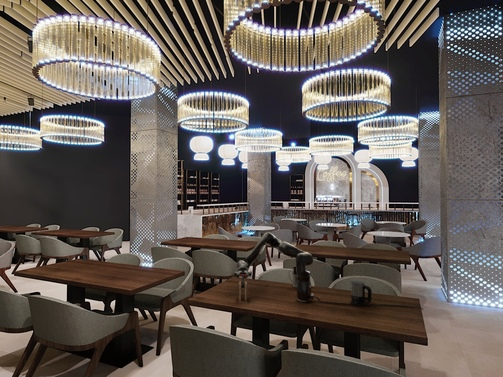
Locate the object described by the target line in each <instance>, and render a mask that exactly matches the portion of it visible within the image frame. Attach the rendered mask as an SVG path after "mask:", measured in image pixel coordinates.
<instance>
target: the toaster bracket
mask: <svg viewBox="0 0 503 377" xmlns="http://www.w3.org/2000/svg"><path fill="white" fill-rule="evenodd" d="M241 282H242V281H239V283H238V287H239V288H238V298H239V301H241V300H242V296H241V295H242V288H241ZM244 283H245V288H244V300H245V301H247V292H248V291H247V287H248V283H247V281H244Z"/></svg>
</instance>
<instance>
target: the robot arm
mask: <svg viewBox="0 0 503 377" xmlns="http://www.w3.org/2000/svg"><path fill="white" fill-rule="evenodd" d="M264 245H267V246H269V247H271V248H274V249H276V250H277V251H278V252H279V253H280V254H282V255H283V256H285V257H289V258H293V259H295V267H296V272H297V287H296V301H298V302H300V303H310V302H311V301H312V300H314V298H315V299H317V300H318V302H320V303H325V304H333V305H334V304H336V305H345V306H346V305H347V306H348V305H349V306H355V305H354V304H351V303H345V302H334V301H322V300H320V299H319V297H317V296H315V295H314V293H312V286H311V272H310V271H308V270H306V267H308V266H311V265H313V263H314V258H313V256H312V254H311V253H309V252H307V251H304V250H302V249H300V248H298V247H296V246H294V245H292V244H291V243H289V242H287V241H284V240H283V241H282V240H281V239H279V238H277V236H275V235H274V234H273V233H271V232H269V231H267V232H265V233H264V234H262V236H261V237H260V239H259V240H258V241H257V243H256V245H255V246H254V248H253V249H252V250H251V251H250V252H249V253H248V254H247V256H245V260H246V262H245V261H244V260H242V259H240V260H239V261H238V262H237V263H236V268H237V271H233V276H234V277H237V278H240V277H241V278H242V276H240V275H246V276H244V278H249V277H252V276H253V271H252V270H251V271H249V270H250V267H251V266H252V264H253V263H254V262H255V261H256V260H257V259H258V258H259V255H260V253H261V250H262V248H263V246H264ZM363 306H388V307H401V308H402V307H405V308H418V309H421V310H422V311H424V310H425V309H424V308H423V307H422V306H417V305H413V306H411V305H402V304H386V303H385V304H384V303H383V304H382V303H365V304H364V305H363Z"/></svg>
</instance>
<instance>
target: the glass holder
mask: <svg viewBox="0 0 503 377" xmlns="http://www.w3.org/2000/svg"><path fill="white" fill-rule="evenodd" d="M292 268H293V269H290V270H289V271H288V273H290V272H291V273H292V279H291V276H290V275H288V278H289V280H290V281H291V282H292V287H294V288H297V272H296V266H293V267H292Z"/></svg>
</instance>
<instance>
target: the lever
mask: <svg viewBox="0 0 503 377" xmlns="http://www.w3.org/2000/svg"><path fill="white" fill-rule="evenodd" d="M241 276H242V277H241ZM244 276H245V277H247V276H246V275H240V276H239V277H241V281H240V282H241V289H245V277H244Z"/></svg>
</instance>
